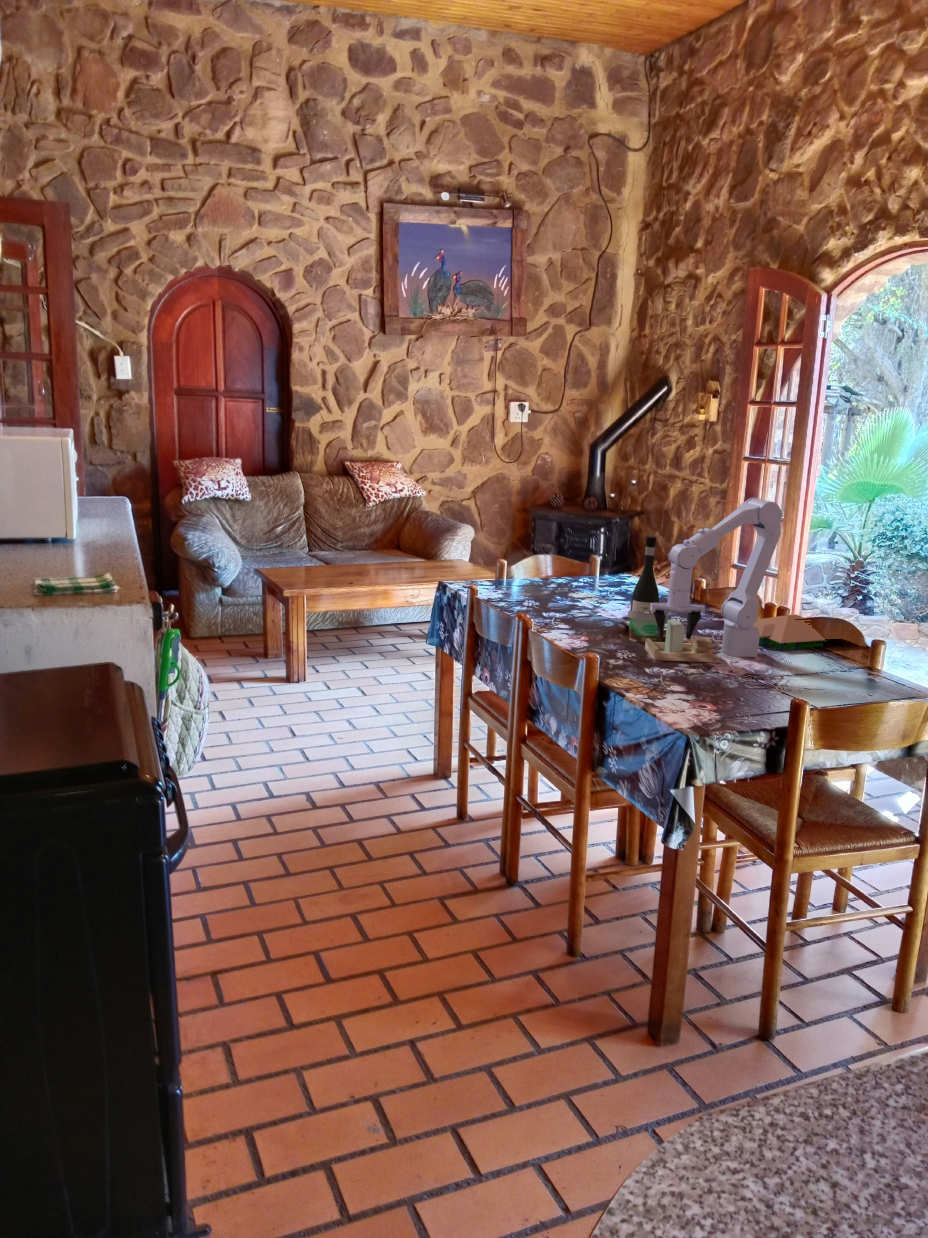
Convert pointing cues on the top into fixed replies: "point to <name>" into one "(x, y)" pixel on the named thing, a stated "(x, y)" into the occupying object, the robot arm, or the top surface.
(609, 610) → the top surface
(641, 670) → the top surface
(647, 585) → the wine bottle
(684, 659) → the rack
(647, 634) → the food container
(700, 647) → the offcut upper
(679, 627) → the pale green block
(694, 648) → the offcut lower
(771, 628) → the house
